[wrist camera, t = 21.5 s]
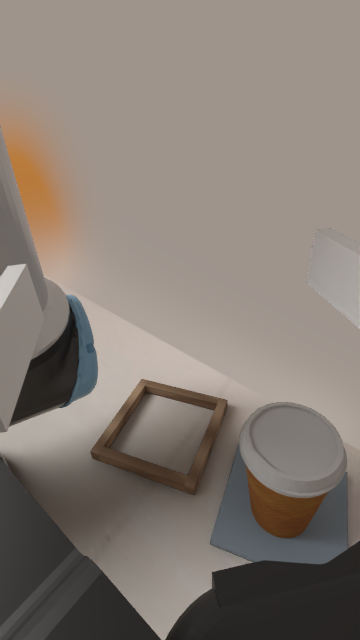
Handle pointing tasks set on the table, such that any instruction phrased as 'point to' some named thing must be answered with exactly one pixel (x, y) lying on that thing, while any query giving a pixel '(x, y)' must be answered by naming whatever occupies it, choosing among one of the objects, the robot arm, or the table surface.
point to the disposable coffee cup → (290, 465)
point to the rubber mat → (257, 545)
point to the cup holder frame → (149, 469)
